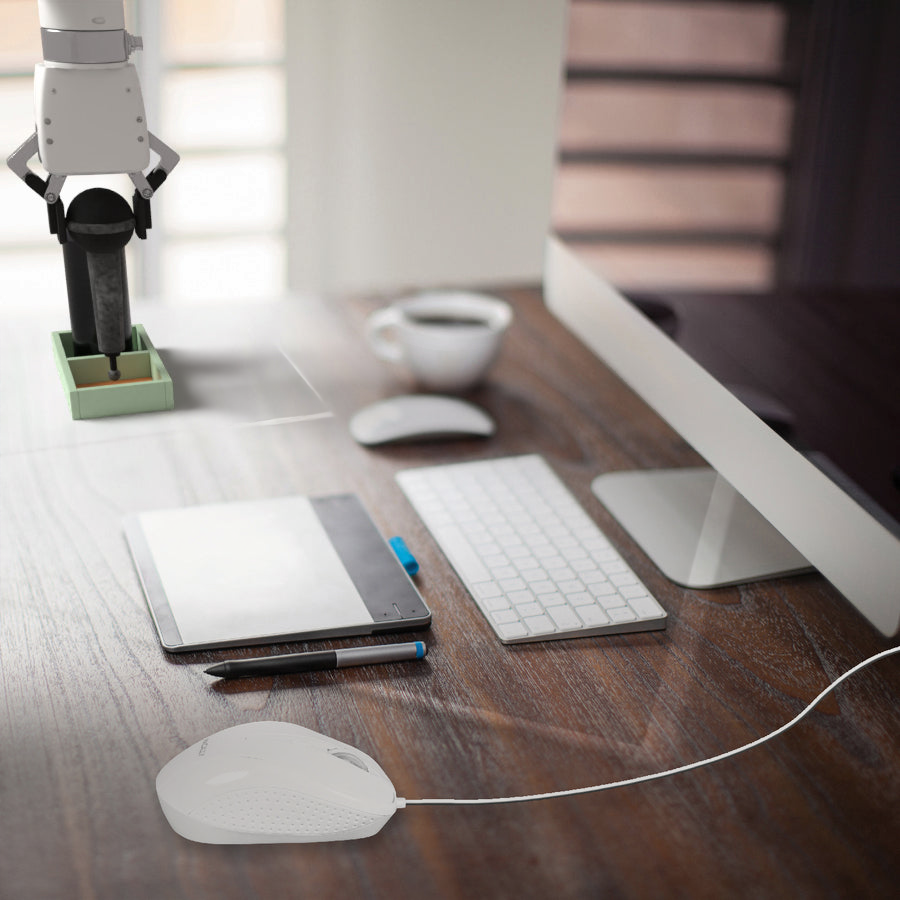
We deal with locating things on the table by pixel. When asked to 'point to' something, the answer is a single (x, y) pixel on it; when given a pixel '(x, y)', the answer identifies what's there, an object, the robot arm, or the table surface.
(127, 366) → the mic rack
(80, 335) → the black domed cylinder
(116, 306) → the microphone
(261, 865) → the table surface
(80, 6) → the robot arm
